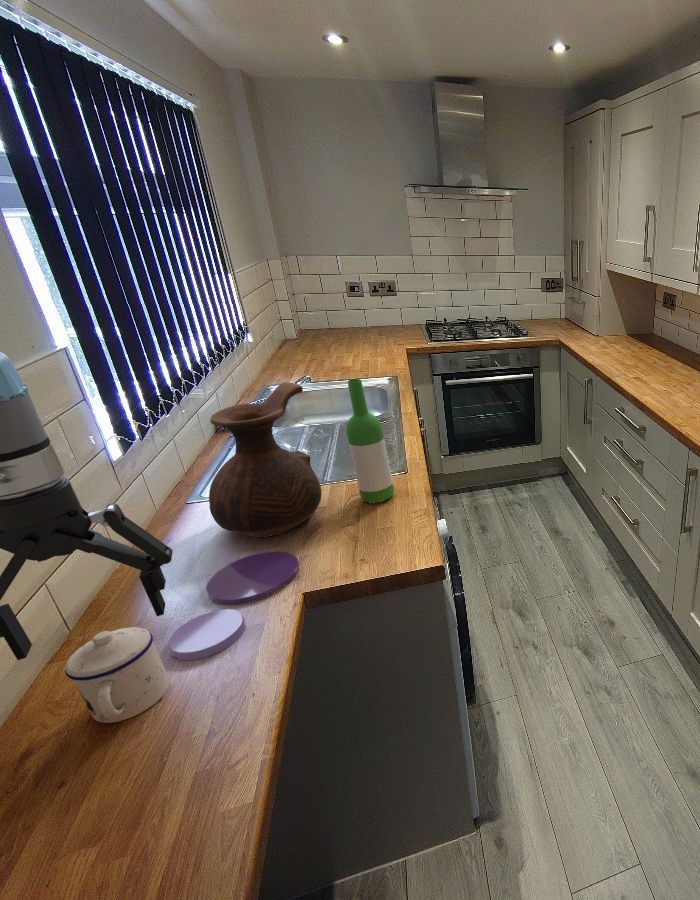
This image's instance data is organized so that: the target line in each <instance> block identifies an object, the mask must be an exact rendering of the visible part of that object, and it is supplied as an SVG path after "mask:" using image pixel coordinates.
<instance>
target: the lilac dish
mask: <svg viewBox="0 0 700 900" xmlns="http://www.w3.org/2000/svg"><path fill="white" fill-rule="evenodd" d="M245 629H246V622H245V619H244V616H243V614H242V613H241V612H240V611H238V610H236V609H230V608H229V609H228V608H227V609H226V608H223V609H217V610H212V611H209V612H205V613H202V614H200V615H198V616H196V617H194V618H192V619H189V620H187V621H186V622H185V623H184V624H182V625H180V626H179V627H178V628H177V629H176V630H175V631H174V632H173V633H172V634H171V636H170V638H169V639H168V648H169V650H170V652H171V654H172V656H173V658H175V659H177V660H180V661H196V660H201V659H204V658H207V657H208V658H209V657H210V656H213V655H215V654H218V653H220V652H222V651H224V650H226V649H227V648H229V647H230V646H231V645H233V644H234V643H235V642H237V640H239V639H240V638H241V636H242V635H243V633H244V631H245Z"/></svg>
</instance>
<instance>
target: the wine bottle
mask: <svg viewBox="0 0 700 900" xmlns="http://www.w3.org/2000/svg"><path fill="white" fill-rule="evenodd" d="M347 387H348V392H349V396H350V402H351V406H352V411H353V415H352V416H351V417H350V418H349V419H348V421H347V423H346V428H345V431H346V436H347V441H348V445H349V450H350V456H351V458H352V464H353V468H354V473H355V477H356V482H357V487H358V492H359V495H360V498H361V500H362V501H363V502H364V501H365V502H364V503H367V502H371V503H370V504H374V503H373V502H380V501H383V500H386V499H388V498H390V497H391V496H392V495H393V496H394V492H395V489H394V483H393V477H392V472H391V467H390V461H389V457H388V452H387V447H386V446H387V445H386V440H385V436H384V432H383V431H384V430H383V426H382V423H381V421H380V419H379V418H378V417H377V416H375V415H374V414H372V413H370V412H369V410H368V406H367V401H366V396H365V391H364V387H363V382H362V379H361V378H351V379H348V380H347ZM393 496H392V497H393ZM392 497H391V498H392ZM391 498H390V499H391ZM388 500H389V499H388ZM386 501H387V500H386ZM380 503H381V502H380Z"/></svg>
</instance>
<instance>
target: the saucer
mask: <svg viewBox="0 0 700 900" xmlns="http://www.w3.org/2000/svg"><path fill="white" fill-rule="evenodd" d="M299 567H300V563H299V559H298V558H297V556H296V555H294V554H293V553H291V552H287V551H281V550H280V551H276V550H274V551H264V552H260V553H256V554H251V555H248V556H245V557H243V558H240V559H238V560H235V561H233V562H231V563H229V564H227V565H225V566H224V567H222V568H221V569H219V571H217V572H216V573H214V574H213V575H212V576H211V578H210V579H209V581H208V582H207V584H206V593H207V595H208V598H209V599H210V600H211V601H212V602H214V603H215V604H219V605H226V606H230V605H231V606H233V605H241V604H247V603H251V602H255V600H256V601H258V600H262V599H264V598H267V597H269V596H271V595H273V594H275V593H277V592H279V591H281V590H282V589H284V588H285V587H286V586H288V585H289V584H290V583H291V582H292V581H293V580H294V579H295V578H296V577H297V576H296V574H297V573H298V574H299V572H300V568H299ZM298 571H299V572H298ZM298 574H297V575H298ZM295 576H296V577H295ZM294 577H295V578H294ZM293 578H294V579H293ZM292 579H293V580H292ZM291 580H292V581H291ZM290 581H291V582H290ZM289 582H290V583H289ZM288 583H289V584H288ZM287 584H288V585H287ZM285 585H286V586H285ZM284 586H285V587H284ZM283 587H284V588H283ZM281 588H282V589H281ZM280 589H281V590H280ZM278 590H279V591H278ZM276 591H277V592H276ZM274 592H275V593H274ZM272 593H273V594H272ZM268 595H269V596H268ZM266 596H267V597H266ZM261 598H262V599H261Z"/></svg>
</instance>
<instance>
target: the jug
mask: <svg viewBox="0 0 700 900" xmlns="http://www.w3.org/2000/svg"><path fill="white" fill-rule="evenodd" d="M303 389H304V388H303V386H302V385H299V384H298V383H293V382H287V381H286V382H281V383H280V384H278V385H277V387H276V388H275V389H274V391H272V393H271V394H270V395H269V396H268V397H267V398H266V399H265V400H264V401H263V402H259V403H240V404H236V405H235V404H234V405H231V406H228V407H225V408H222V409H220V410H218V411H217V412H215V413H214V414H213V415H212V416H211V417H210V420H209V422H210V423H211V424H212V425H214V426H217V427H220V428H225V429H228V430H229V432H230V433H231V434H232V436H233V439H234V441H235V453H234V455H233V456H232V457H230V458H229V459H228V460H227V461H226V462H225V463H224V464H223V465H222V466H221V467H220V468H219V470H218V471H217V473H216V474H215V475H214V477H213V479H212V481H211V484H210V485H209V492H208V502H209V511H210V514H211V517H212V518H213V520H214V521H215V523H216V524H217V525H218V526H219V527H221V528H222V529H223V530H225V531H228V532H232V533H237V534H242V535H246V536H251V537H255V536H256V537H255V538H265V537H264V536H268V537H271V536H270V535H273V536H276V535H275V534H277V535H279V534H278V533H280V534H282V532H283V533H285V532H284V531H286V532H288V531H290V530H292V529H294V528H296V527H298V526H299V525H301V524H302V523H303V522H305V521H306V520H308V518H310V517H311V516H312V515H313V514H314V513H315V512H316V510H317V509H318V508H319V505H320V503H321V501H322V486H321V482H320V480H319V478H318V476H317V475H316V473H315V472H314V470H313V468H312V466H311V455H309V454H307V453H305V452H304V451H303V452H302V451H300V450H296V451H289V450H287V449H284V448H282V447H281V446H280V445H279V444H278V443H277V441H276V439H275V438H274V434H273V426H274V423H275V422H276V421H277V420H278V419H280V418H282V417H283V416H284V415H285V414H286V409H287V406H288V403H289V400H290V399H292V397H294V396H296V395H297V394H301V393H303V391H304V390H303ZM295 526H296V527H295ZM293 527H294V528H293ZM291 528H292V529H291ZM289 529H290V530H289ZM287 530H288V531H287Z"/></svg>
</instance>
